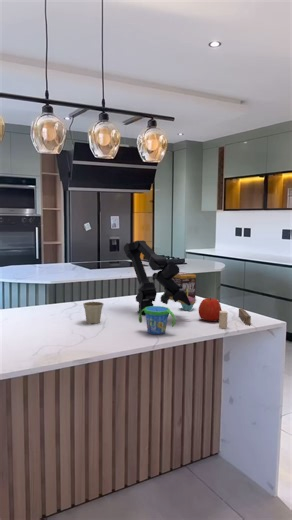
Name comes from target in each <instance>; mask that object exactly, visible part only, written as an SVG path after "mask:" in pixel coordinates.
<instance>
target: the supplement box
mask: <svg viewBox="0 0 292 520" xmlns="http://www.w3.org/2000/svg"><path fill="white" fill-rule="evenodd" d="M173 279H174V281H175V282H176V283H177V284H181V285H182V286H183V288H181V289H184V290H185V292H186V294H187V289H188V296H190V297H192V298H194V299H195V300H196V295H197V294H196V292H197V291H196V290H197V289H196V285H197V283H196V281H197V275H196V274H193V273H188V272H182V271H179V273H178V274H177V275H175V276H174V277H173ZM169 300H172V301H174V300H173V299H172V297H171V296H170V298H169ZM177 302H178V303H179V300H178V301H177Z"/></svg>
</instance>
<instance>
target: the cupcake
mask: <svg viewBox="0 0 292 520" xmlns="http://www.w3.org/2000/svg"><path fill="white" fill-rule="evenodd" d="M187 297H188V299H189V301H190V303H191V305H190V306H189V305H187V304H185V303H184V302H182V301H181V300H179V302H178V303H179V304H180V305H181V307H182V310H184V311H192V310H193V307H194V304H196V298H195V299H194V298H192V297H190V296H188V289H187Z"/></svg>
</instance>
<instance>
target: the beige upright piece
mask: <svg viewBox="0 0 292 520" xmlns="http://www.w3.org/2000/svg"><path fill="white" fill-rule="evenodd" d="M217 322H218V327H219V328H220V329H228V311H227V310H222V311H219V320H217Z"/></svg>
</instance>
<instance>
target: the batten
mask: <svg viewBox="0 0 292 520" xmlns="http://www.w3.org/2000/svg"><path fill="white" fill-rule="evenodd" d="M251 317H252V316H251V315H250V314H249V313H248V312H247V311H246V310H245V309H244V308H238V318H239V319H240V320H241V321H242V322H243V323H244V325H246V326H251V321H252V320H251V319H252V318H251Z"/></svg>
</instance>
